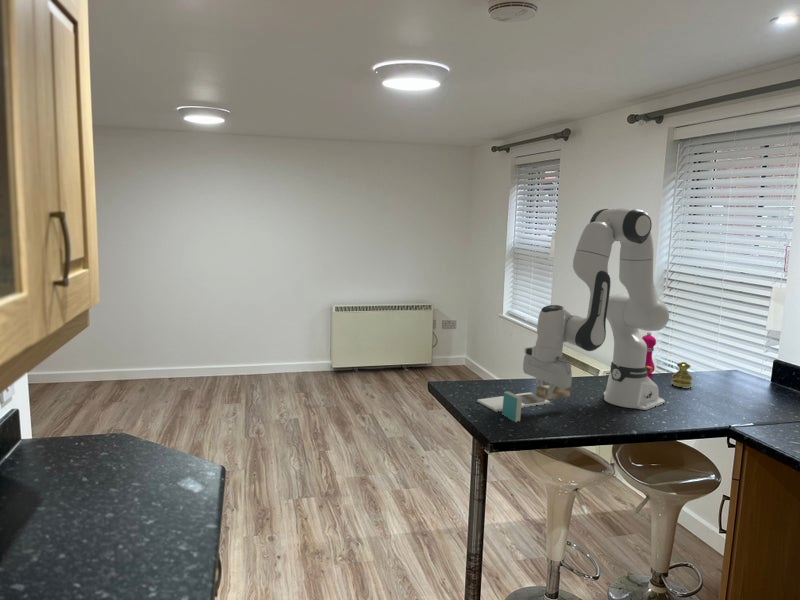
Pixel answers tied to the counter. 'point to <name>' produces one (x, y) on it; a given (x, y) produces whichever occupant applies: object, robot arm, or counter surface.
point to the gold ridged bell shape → (682, 376)
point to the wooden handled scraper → (542, 396)
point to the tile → (512, 406)
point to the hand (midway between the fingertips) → (544, 393)
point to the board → (497, 402)
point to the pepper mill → (649, 351)
